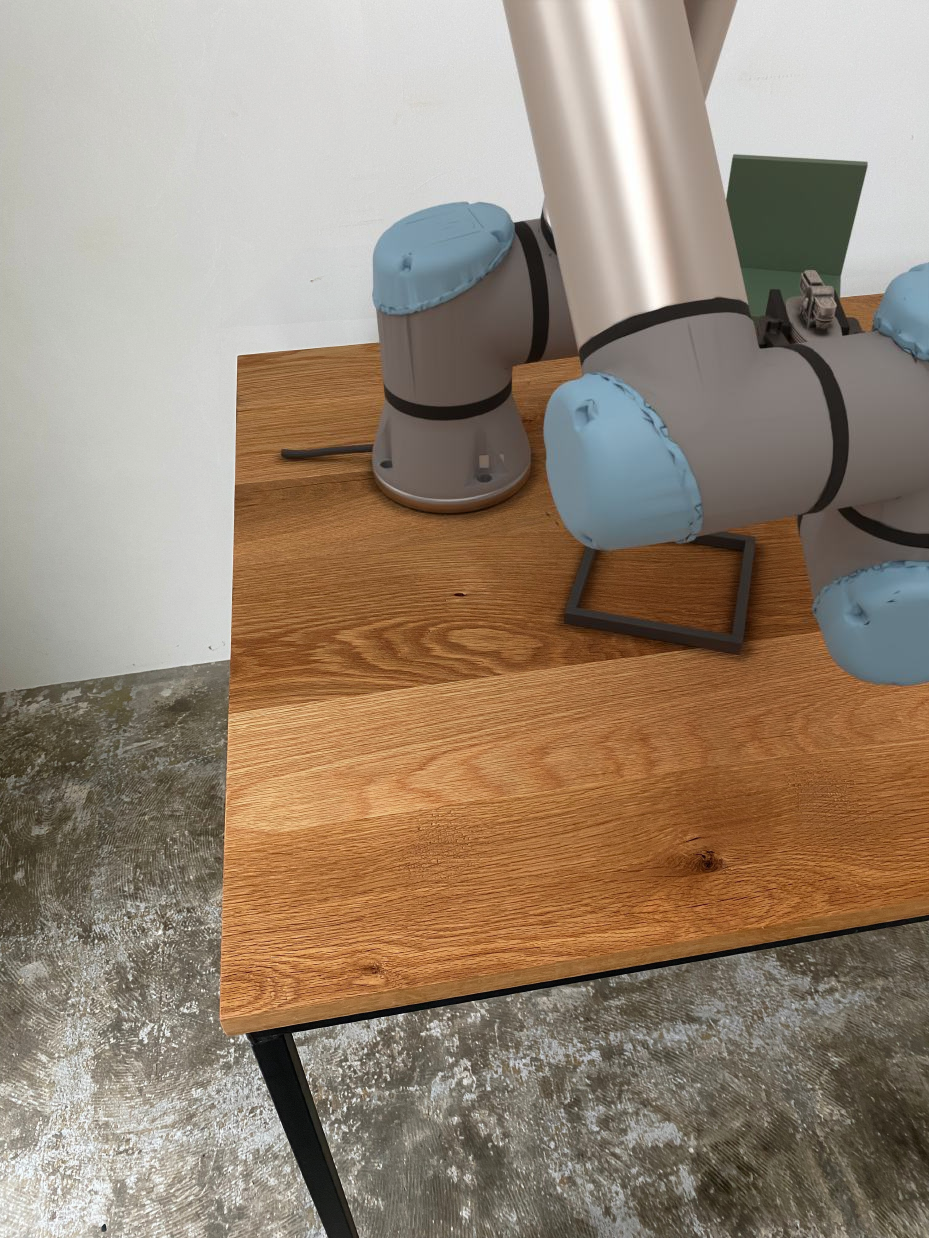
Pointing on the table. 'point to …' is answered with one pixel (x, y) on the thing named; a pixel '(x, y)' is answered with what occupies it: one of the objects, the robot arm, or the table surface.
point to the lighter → (812, 311)
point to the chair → (791, 221)
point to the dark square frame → (665, 630)
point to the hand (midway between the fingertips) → (799, 306)
